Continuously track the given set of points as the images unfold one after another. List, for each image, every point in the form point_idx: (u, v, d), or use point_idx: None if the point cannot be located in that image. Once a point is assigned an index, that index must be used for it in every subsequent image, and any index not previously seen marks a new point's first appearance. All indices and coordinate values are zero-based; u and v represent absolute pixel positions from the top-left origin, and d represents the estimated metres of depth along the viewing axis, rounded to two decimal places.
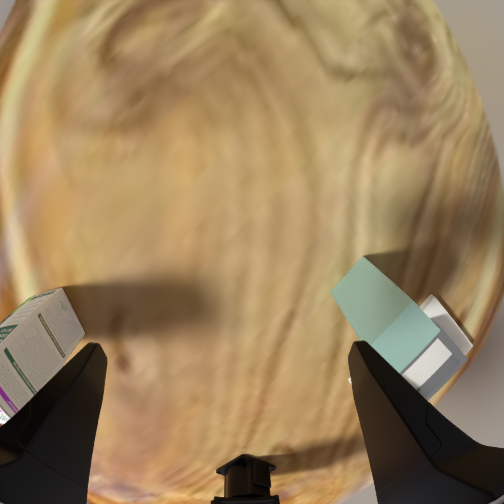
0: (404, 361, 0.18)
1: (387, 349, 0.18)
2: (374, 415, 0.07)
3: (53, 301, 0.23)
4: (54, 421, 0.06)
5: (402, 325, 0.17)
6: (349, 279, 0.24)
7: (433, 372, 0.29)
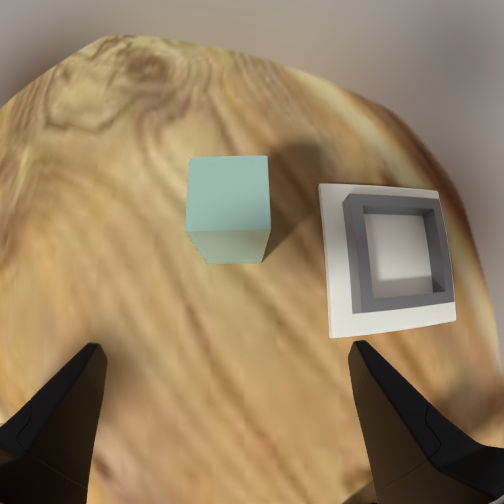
0: (258, 212, 0.15)
1: (214, 214, 0.15)
2: (374, 415, 0.07)
3: None
4: (54, 421, 0.06)
5: (202, 182, 0.16)
6: None
7: (426, 249, 0.24)
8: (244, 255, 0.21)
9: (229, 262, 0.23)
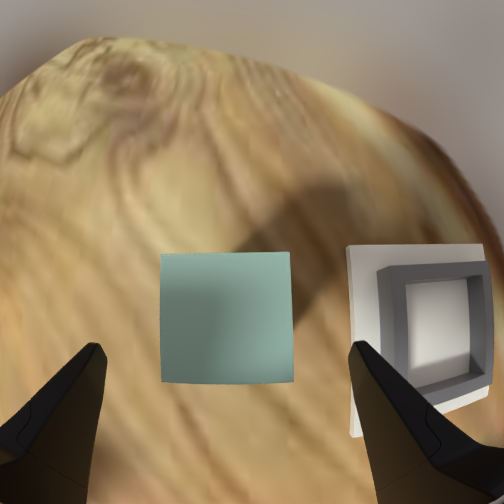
0: (275, 356, 0.09)
1: (204, 358, 0.09)
2: (374, 415, 0.07)
3: None
4: (54, 421, 0.06)
5: (183, 301, 0.10)
6: None
7: (467, 321, 0.17)
8: None
9: None
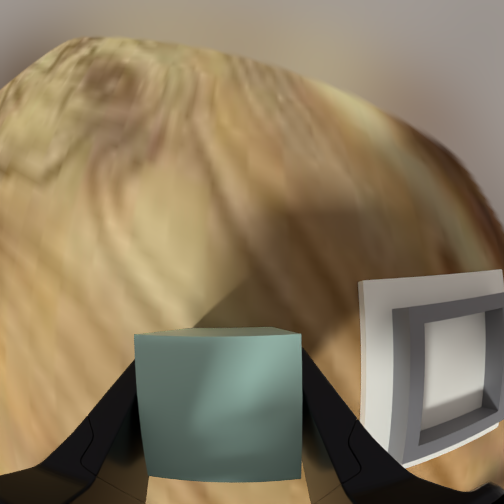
0: (280, 455, 0.07)
1: (195, 457, 0.06)
2: (303, 426, 0.07)
3: None
4: (121, 437, 0.06)
5: (166, 394, 0.07)
6: None
7: (483, 355, 0.15)
8: None
9: None
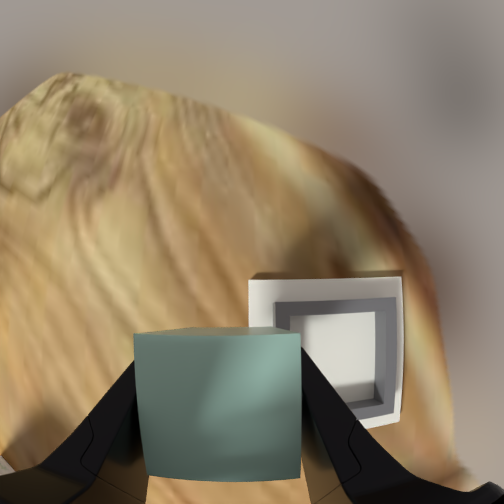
0: (279, 454, 0.07)
1: (194, 456, 0.06)
2: (303, 426, 0.07)
3: None
4: (121, 437, 0.06)
5: (165, 394, 0.07)
6: None
7: (372, 351, 0.21)
8: None
9: None
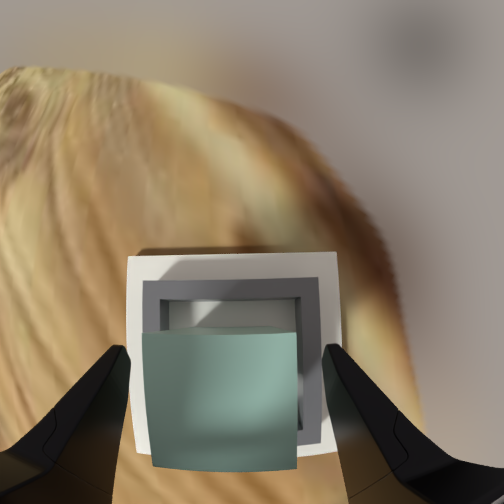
0: (276, 445, 0.07)
1: (198, 448, 0.07)
2: (344, 421, 0.07)
3: None
4: (82, 429, 0.06)
5: (171, 389, 0.07)
6: None
7: None
8: None
9: None
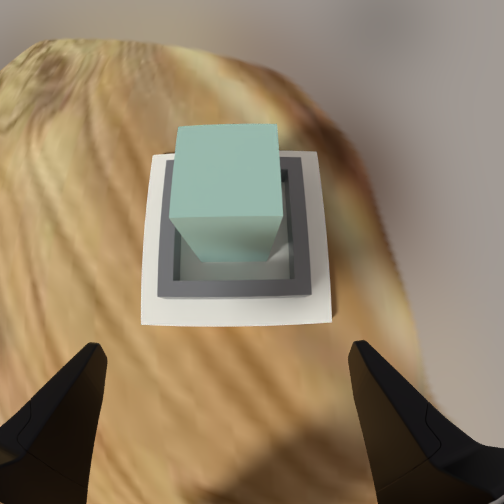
0: (266, 193, 0.11)
1: (207, 196, 0.11)
2: (374, 415, 0.07)
3: None
4: (54, 421, 0.06)
5: (194, 155, 0.12)
6: None
7: (283, 224, 0.21)
8: (246, 251, 0.17)
9: (228, 260, 0.19)
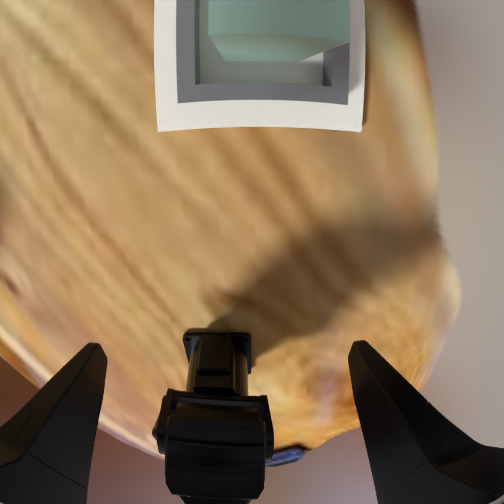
0: (332, 14, 0.07)
1: (258, 9, 0.07)
2: (374, 415, 0.07)
3: None
4: (54, 421, 0.06)
5: None
6: None
7: None
8: (282, 55, 0.12)
9: (256, 59, 0.14)
